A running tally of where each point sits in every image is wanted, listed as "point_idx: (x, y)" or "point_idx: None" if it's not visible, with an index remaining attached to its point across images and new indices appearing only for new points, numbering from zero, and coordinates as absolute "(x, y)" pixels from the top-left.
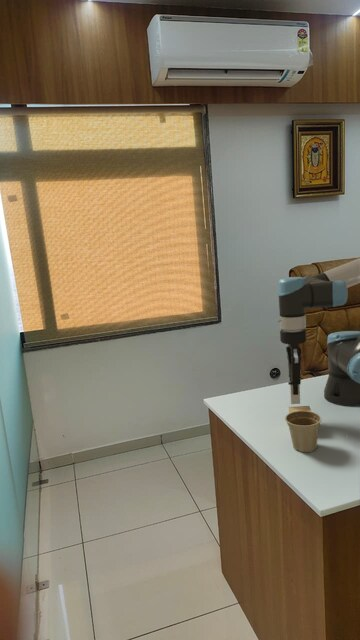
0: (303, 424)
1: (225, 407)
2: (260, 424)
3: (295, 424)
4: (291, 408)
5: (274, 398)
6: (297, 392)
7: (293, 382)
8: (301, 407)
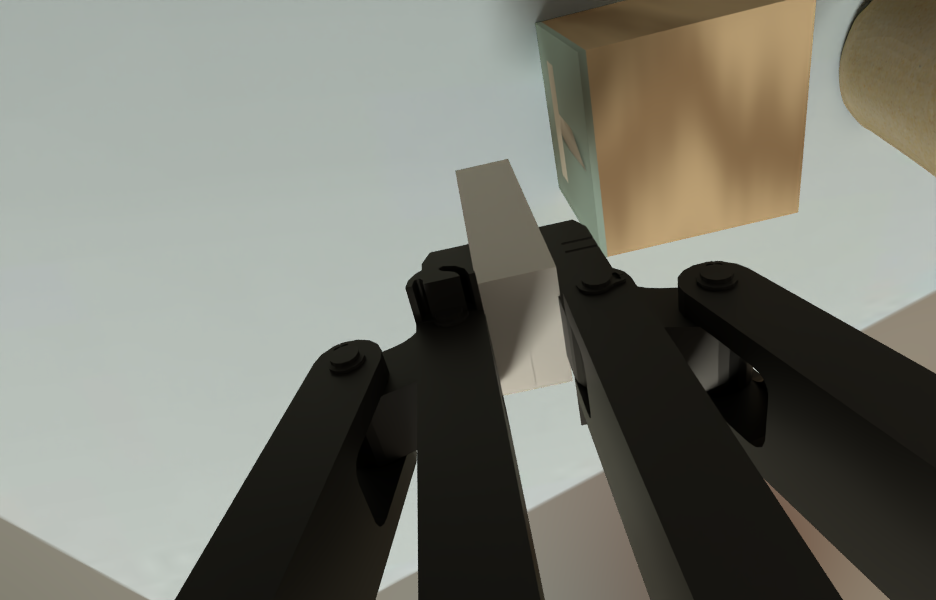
0: (924, 84)
1: None
2: None
3: (929, 157)
4: (640, 231)
5: (78, 359)
6: (589, 240)
7: (760, 378)
8: (622, 137)
